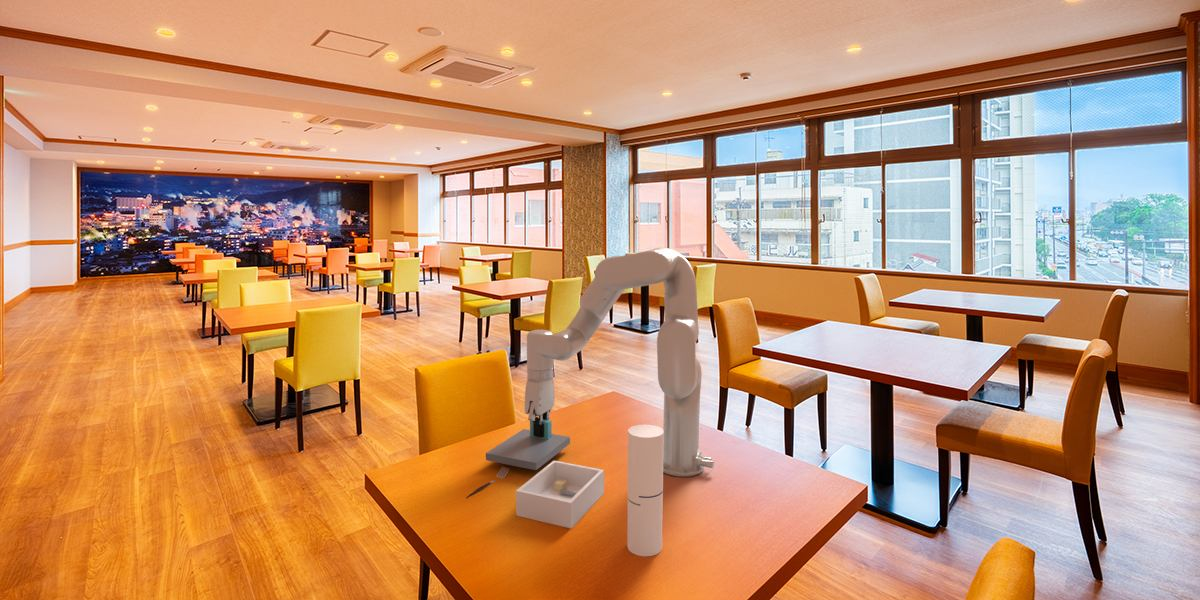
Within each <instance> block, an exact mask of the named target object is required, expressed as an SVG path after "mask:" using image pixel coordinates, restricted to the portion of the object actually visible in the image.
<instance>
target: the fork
mask: <svg viewBox="0 0 1200 600" xmlns="http://www.w3.org/2000/svg"><path fill="white" fill-rule="evenodd" d="M509 470H510V468H508V467H504V466H502V467H501V468H500V470H499V471H498V472H497V475H496V477H498V478H501V479H505V477H506V475H507V474H508V472H509ZM494 482H496V480H493V479H492V480H491V481H489V482H487V483H485V484H483V485H481V486H479V487H478V488H476V489H475V490H474V491H472V492H471V493H470V494H469V495H467V496H466V497H465V499H468V498H470V497H472V496H473V495H475V494H477V493H479V492H481V491H483V490H484V489H486V488H487V487H488V486H489V485H491V484H492V483H494Z"/></svg>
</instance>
